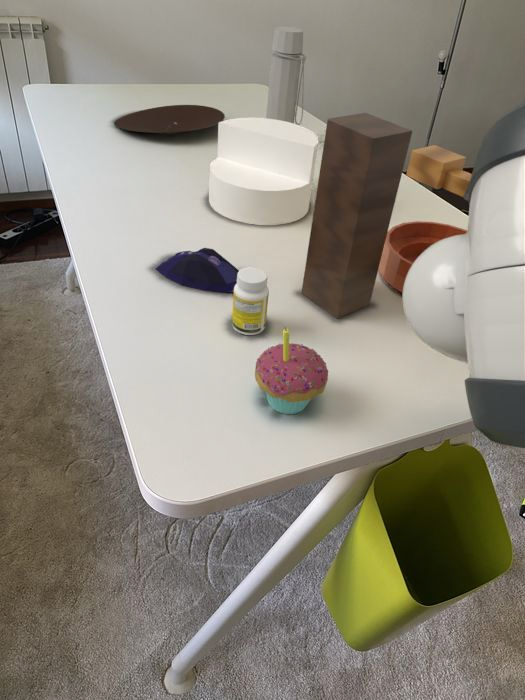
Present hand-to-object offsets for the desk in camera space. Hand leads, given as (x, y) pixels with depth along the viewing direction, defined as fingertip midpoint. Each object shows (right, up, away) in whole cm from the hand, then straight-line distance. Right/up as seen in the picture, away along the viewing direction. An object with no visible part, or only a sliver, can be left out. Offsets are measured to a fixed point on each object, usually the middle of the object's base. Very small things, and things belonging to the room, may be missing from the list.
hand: (487, 190), depth 79 cm
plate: (-56, +34, +63) cm, 91 cm away
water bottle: (-27, +30, +61) cm, 73 cm away
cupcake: (-29, -29, -12) cm, 43 cm away
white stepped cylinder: (-33, +7, +31) cm, 46 cm away
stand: (-21, -15, +6) cm, 27 cm away
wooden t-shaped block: (-3, +2, +4) cm, 6 cm away
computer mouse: (-42, -11, +8) cm, 44 cm away
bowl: (-4, -11, +13) cm, 18 cm away
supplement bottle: (-34, -20, -1) cm, 40 cm away
